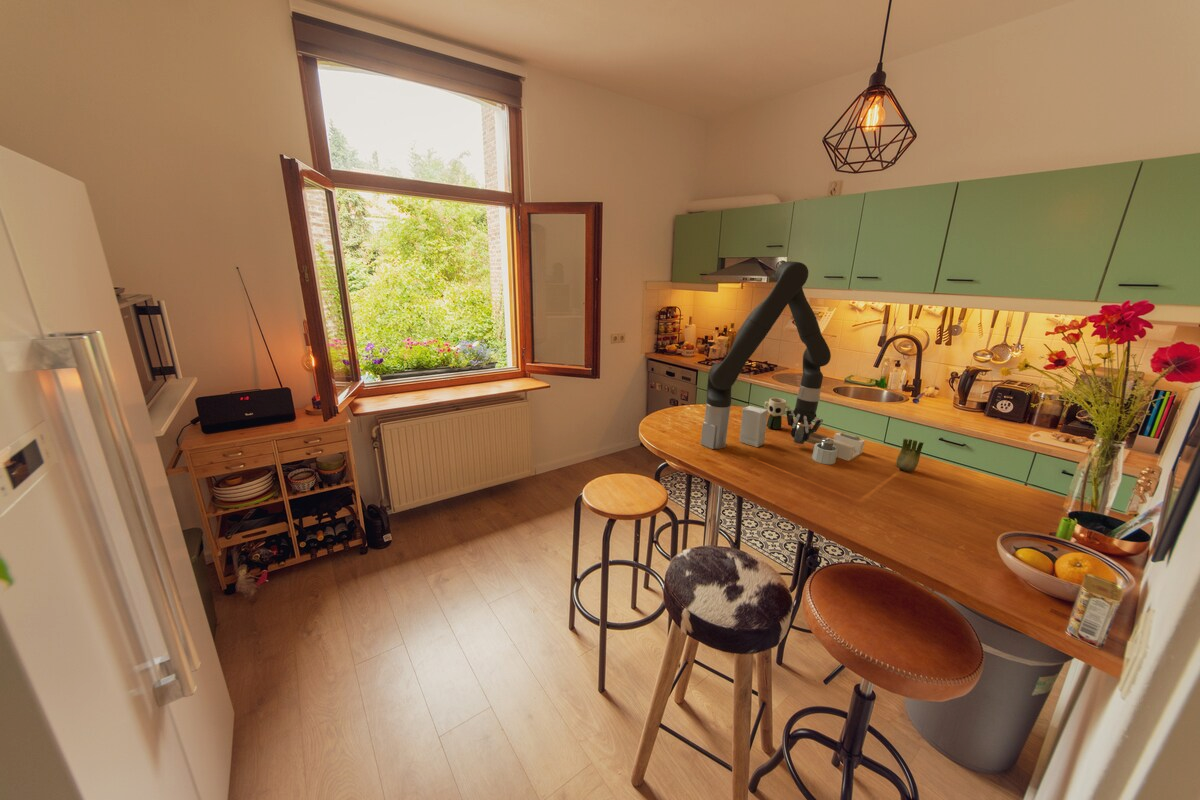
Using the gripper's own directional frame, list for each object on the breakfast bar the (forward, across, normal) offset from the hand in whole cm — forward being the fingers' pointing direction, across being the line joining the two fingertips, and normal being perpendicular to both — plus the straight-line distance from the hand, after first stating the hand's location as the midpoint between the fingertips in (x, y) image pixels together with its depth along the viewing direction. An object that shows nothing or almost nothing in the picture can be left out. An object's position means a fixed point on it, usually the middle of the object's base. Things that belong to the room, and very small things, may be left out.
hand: (799, 438), depth 169 cm
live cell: (+1, 0, 0) cm, 1 cm away
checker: (+4, +12, +10) cm, 17 cm away
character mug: (+5, -18, +14) cm, 24 cm away
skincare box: (+5, -15, -10) cm, 18 cm away
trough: (+4, 0, +13) cm, 14 cm away
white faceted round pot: (+4, +12, -3) cm, 13 cm away
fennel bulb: (+4, +32, +15) cm, 36 cm away
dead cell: (+4, +11, -3) cm, 12 cm away
